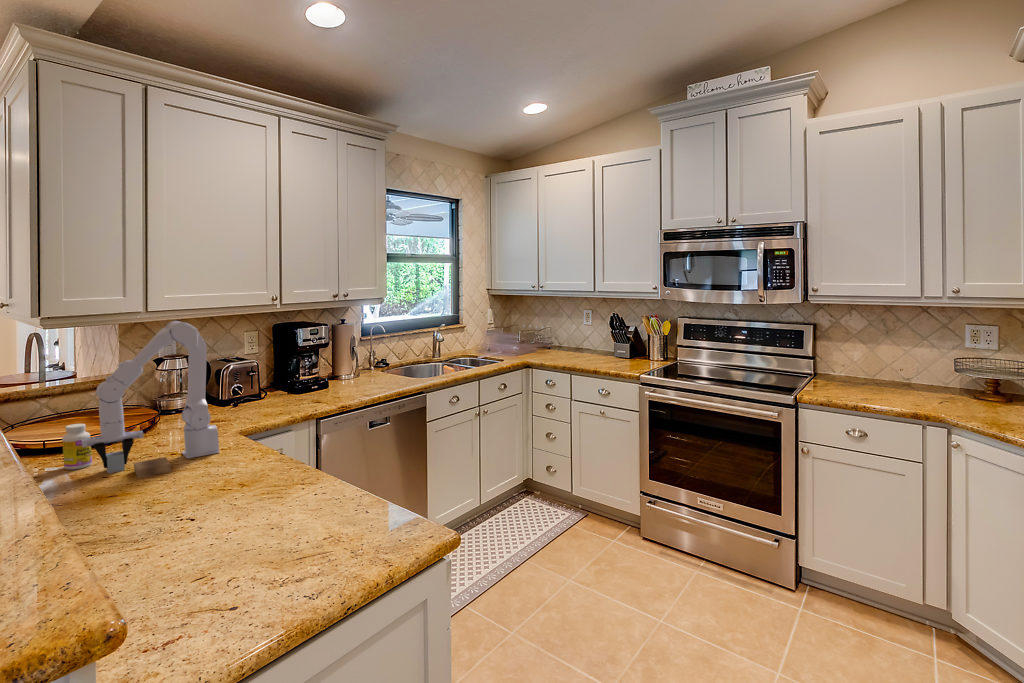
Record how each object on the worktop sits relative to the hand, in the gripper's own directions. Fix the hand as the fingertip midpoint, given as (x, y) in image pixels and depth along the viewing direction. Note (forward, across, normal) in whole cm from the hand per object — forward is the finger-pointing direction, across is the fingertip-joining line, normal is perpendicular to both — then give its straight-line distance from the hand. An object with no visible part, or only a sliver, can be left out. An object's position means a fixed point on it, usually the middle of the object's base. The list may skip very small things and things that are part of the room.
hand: (115, 465), depth 157 cm
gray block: (+1, 0, 0) cm, 1 cm away
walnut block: (+2, -8, +9) cm, 12 cm away
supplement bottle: (+2, +8, -11) cm, 14 cm away
